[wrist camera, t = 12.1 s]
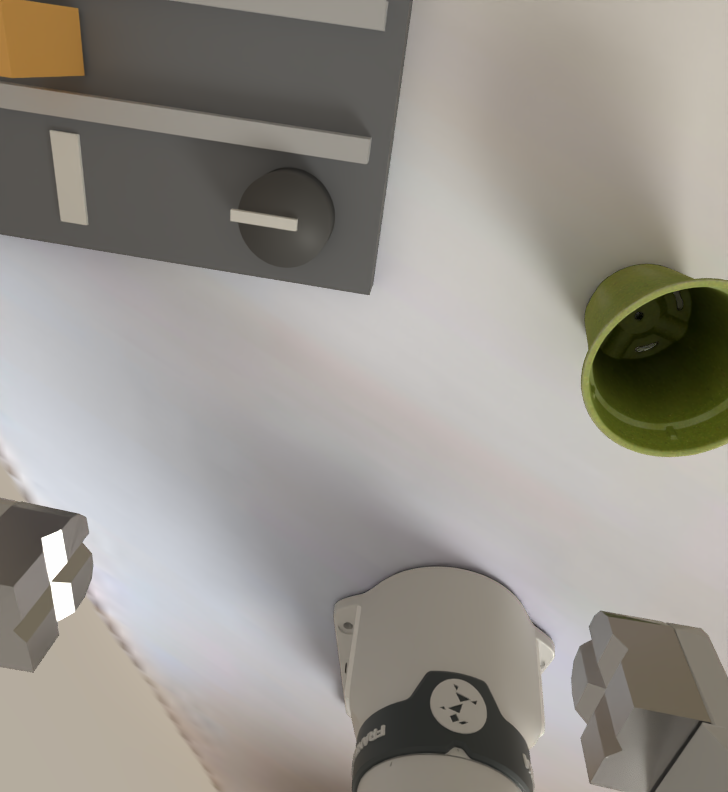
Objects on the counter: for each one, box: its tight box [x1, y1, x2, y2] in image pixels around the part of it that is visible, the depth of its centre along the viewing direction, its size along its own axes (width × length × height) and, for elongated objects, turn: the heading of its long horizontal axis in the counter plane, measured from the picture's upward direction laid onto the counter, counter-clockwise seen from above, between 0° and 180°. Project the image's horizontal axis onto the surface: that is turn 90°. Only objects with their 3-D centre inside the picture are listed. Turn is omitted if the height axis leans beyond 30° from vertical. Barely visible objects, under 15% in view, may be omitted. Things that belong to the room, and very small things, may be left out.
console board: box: [0, 0, 413, 295], centre depth 31 cm, size 22×28×4 cm
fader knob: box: [0, 0, 85, 78], centre depth 28 cm, size 3×3×6 cm
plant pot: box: [581, 264, 728, 457], centre depth 32 cm, size 9×9×9 cm
